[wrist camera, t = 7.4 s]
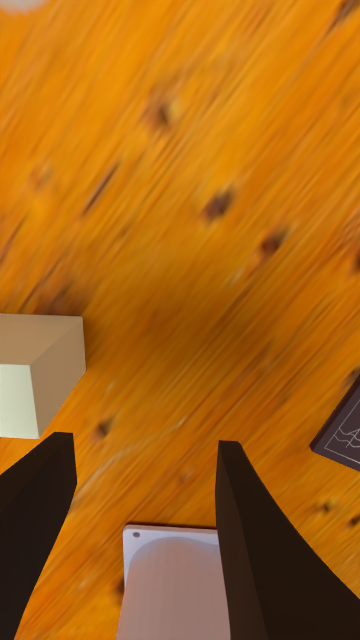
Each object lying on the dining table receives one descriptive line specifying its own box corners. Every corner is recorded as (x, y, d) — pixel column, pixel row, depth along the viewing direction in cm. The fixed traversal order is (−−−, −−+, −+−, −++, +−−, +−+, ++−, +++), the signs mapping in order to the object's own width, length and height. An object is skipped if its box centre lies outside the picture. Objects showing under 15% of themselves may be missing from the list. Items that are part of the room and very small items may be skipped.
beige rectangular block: (82, 316, 19) (29, 365, 13) (86, 370, 20) (38, 439, 14) (-18, 312, 20) (-117, 358, 13) (-9, 366, 21) (-97, 431, 14)
